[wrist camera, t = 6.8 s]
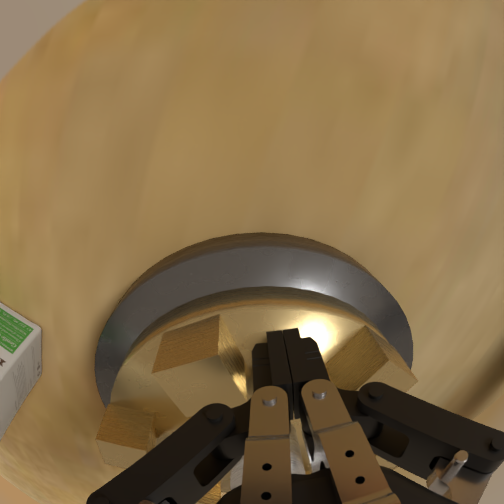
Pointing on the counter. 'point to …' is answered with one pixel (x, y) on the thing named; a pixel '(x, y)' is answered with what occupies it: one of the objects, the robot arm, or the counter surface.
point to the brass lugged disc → (234, 367)
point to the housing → (240, 276)
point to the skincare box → (17, 362)
